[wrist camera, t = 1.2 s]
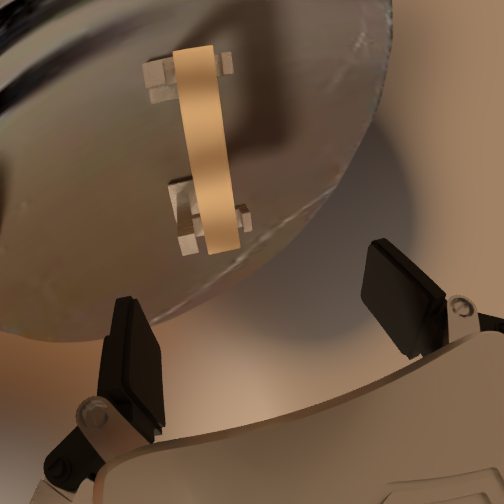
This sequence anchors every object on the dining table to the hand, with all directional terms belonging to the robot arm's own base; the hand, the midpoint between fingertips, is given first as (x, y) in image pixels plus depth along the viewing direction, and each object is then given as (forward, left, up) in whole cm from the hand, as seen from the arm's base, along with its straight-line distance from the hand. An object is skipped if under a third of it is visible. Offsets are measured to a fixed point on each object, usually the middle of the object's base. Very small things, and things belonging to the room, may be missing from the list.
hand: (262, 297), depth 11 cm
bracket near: (-10, -1, -26) cm, 27 cm away
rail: (-2, 0, -18) cm, 18 cm away
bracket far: (+5, -1, -26) cm, 26 cm away
